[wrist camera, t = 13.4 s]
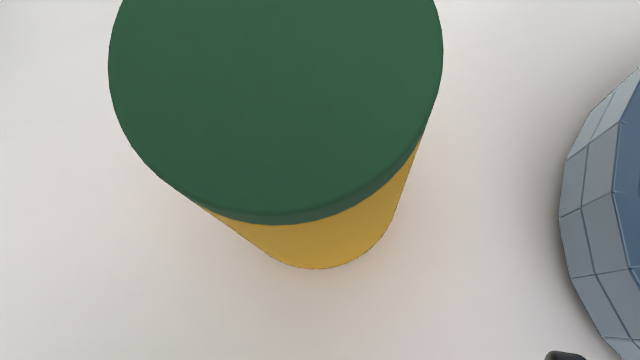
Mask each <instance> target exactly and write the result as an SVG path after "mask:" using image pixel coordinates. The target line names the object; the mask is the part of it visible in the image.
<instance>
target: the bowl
mask: <svg viewBox="0 0 640 360" xmlns="http://www.w3.org/2000/svg"><path fill="white" fill-rule="evenodd" d="M558 218H559V220H558V222H559V227H560V232H561V237H562V242H563V247H564V252H565V257H566V262H567V267H568V272H569V276H570V278H572V279H571V282H572V284H573V286H574V288H575V289H576V291H577V293H578V295H579V297H580V299H581V300H582V302H583V304H584V306H585V308H586V310H587V311H588V313H589V315H590V317H591V319H592V321H593V322H594V324H595V326H596V328H597V330H598V332H599V334H600V335H601V336H603V339H604V340H605V341H606V342H607V343H608V344H609V345H610V346H611V347H612V348H613V349H614V350H615V351H616V352H617V353H618V354H619V355H620V356H621V358H622V359H623V360H640V67H639V68H638V69H636V70H635V71H634V72H633V73H632V74H631V75H630V76H628V77H627V78H626V79H625V80H624V81H623V82H622V83H621V84H620V85H619V86H618V87H617V88H616V89H615V90H613V91H612V92H611V93H610V94H609V95H608V96H607V97H606V98H605V99H604V100H603V101H602V102H601V103H599V104H598V105H597V106H596V107H595V108H594V109H593V110H592V111H591V112H590V114H589V115H588V117H587V119H586V121H585V123H584V125H583V127H582V129H581V131H580V133H579V135H578V136H577V138H576V140H575V142H574V144H573V146H572V148H571V150H570V152H569V154H568V156H567V158H566V160H565V165H564V173H563V180H562V188H561V196H560V204H559V211H558Z"/></svg>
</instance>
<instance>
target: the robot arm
mask: <svg viewBox="0 0 640 360" xmlns="http://www.w3.org/2000/svg"><path fill="white" fill-rule="evenodd" d="M544 360H586V359H585V358H584V357H582V356H581V355H578V354H573V353H566V352H560V351H551V352H549V353H548V354H547V355H546V357H545V359H544Z"/></svg>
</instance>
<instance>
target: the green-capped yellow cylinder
mask: <svg viewBox="0 0 640 360" xmlns="http://www.w3.org/2000/svg"><path fill="white" fill-rule="evenodd" d="M442 68H443V39H442V29H441V25H440V21H439V16H438V12H437V9H436V6H435V4H434V1H433V0H123V2H122V4H121V6H120V8H119V11H118V14H117V17H116V20H115V23H114V26H113V29H112V34H111V40H110V45H109V56H108V76H109V89H110V93H111V98H112V102H113V107H114V110H115V113H116V115H117V118H118V120H119V123H120V126H121V128H122V130H123V132H124V134H125V135H126V137H127V139H128V141H129V142H130V144H131V146H132V147H133V149H134V150H135V151H136V153H137V154H138V155H139V156H140V158H141V159H142V160H143V162H144V163H145V164H146V165H147V166H148V167H149V168H150V169H151V170H152V171H153V172H154V173H155V174H156V175H157V176H158V177H159V178H161V179H162V180H163V181H165V182H166V183H168V184H169V185H170V186H172V187H173V188H174V189H176V190H177V191H179V192H180V193H181V194H183V195H184V196H186V197H187V198H188V199H190V200H191V201H193V202H194V203H196V204H197V205H198V206H200V207H201V208H203V209H204V210H206V211H207V212H208V213H210V214H211V215H213V216H214V217H216V218H217V219H218V220H220V221H221V222H223V223H224V224H225V225H227V226H228V227H230V228H231V229H233V230H234V231H235V232H237V233H238V234H240V235H241V236H243V237H244V238H245V239H247V240H248V241H250V242H251V243H253V244H254V245H255V246H257V247H258V248H260V249H261V250H263V251H264V252H265V253H267V254H268V255H270V256H271V257H273V258H275V259H277V260H278V261H280V262H283V263H285V264H288V265H291V266H295V267H299V268H306V269H325V268H331V267H336V266H339V265H342V264H345V263H348V262H350V261H352V260H354V259H356V258H358V257H359V256H361V255H362V254H364V253H365V252H367V251H368V250H369V249H370V248H371V247H373V246H374V245H375V243H376V242H377V241H378V240H379V239H380V238H381V237H382V235H383V234H384V232H385V231H386V229H387V228H388V226H389V224H390V222H391V220H392V218H393V215H394V212H395V209H396V207H397V204H398V201H399V198H400V196H401V193H402V190H403V187H404V185H405V182H406V179H407V177H408V174H409V171H410V168H411V166H412V163H413V160H414V157H415V155H416V152H417V149H418V146H419V144H420V141H421V138H422V135H423V133H424V130H425V127H426V125H427V122H428V119H429V116H430V114H431V111H432V108H433V105H434V102H435V100H436V97H437V94H438V90H439V85H440V80H441V75H442Z"/></svg>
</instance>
